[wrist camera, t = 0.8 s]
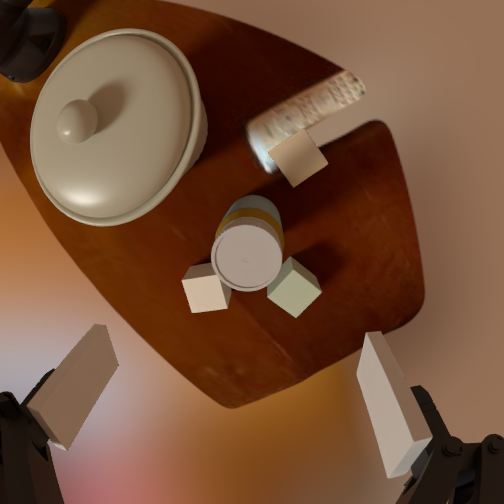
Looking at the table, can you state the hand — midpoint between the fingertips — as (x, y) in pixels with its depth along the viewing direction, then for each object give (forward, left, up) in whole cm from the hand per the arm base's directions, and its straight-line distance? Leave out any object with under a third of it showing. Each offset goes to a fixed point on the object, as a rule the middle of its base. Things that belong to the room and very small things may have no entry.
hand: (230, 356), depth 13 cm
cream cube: (+6, -9, -28) cm, 29 cm away
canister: (-16, -7, -28) cm, 33 cm away
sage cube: (+10, +2, -28) cm, 29 cm away
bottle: (0, 0, -28) cm, 28 cm away
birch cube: (-6, +8, -28) cm, 29 cm away
